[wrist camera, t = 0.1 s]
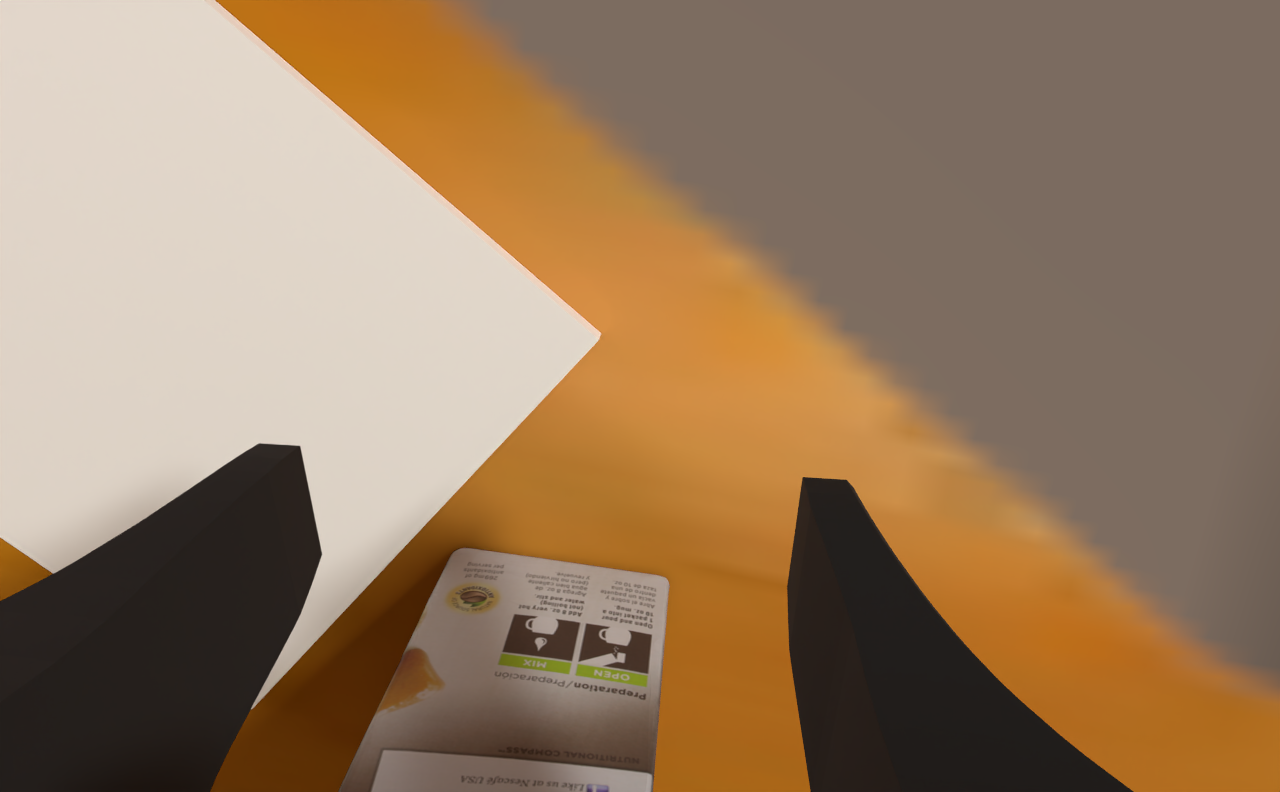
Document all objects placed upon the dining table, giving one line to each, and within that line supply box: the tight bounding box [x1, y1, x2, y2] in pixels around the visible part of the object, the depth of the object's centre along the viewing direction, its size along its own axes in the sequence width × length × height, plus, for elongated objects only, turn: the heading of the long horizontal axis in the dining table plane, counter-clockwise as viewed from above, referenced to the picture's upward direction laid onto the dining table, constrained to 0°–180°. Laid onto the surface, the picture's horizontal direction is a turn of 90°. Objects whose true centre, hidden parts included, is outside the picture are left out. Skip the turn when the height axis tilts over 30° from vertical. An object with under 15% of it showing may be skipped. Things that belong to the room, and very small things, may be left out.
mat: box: [0, 0, 601, 709], centre depth 24 cm, size 16×18×1 cm
